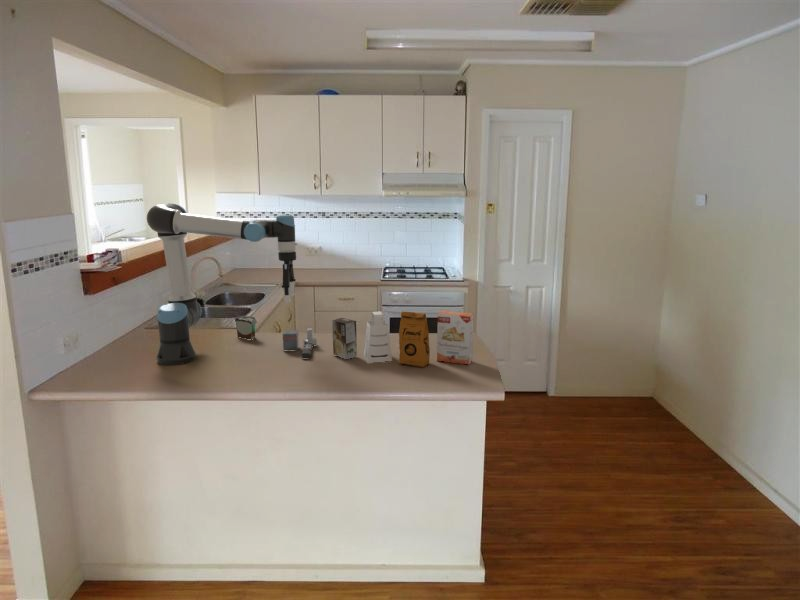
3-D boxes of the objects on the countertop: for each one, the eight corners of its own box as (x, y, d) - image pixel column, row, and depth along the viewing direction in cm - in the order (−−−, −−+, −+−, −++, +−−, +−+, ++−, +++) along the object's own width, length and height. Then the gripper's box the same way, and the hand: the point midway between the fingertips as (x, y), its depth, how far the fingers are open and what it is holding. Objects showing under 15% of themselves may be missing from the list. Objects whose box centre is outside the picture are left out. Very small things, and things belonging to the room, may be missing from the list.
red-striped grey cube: (297, 351, 248) (296, 333, 246) (283, 351, 247) (282, 334, 245) (298, 347, 254) (298, 330, 252) (285, 347, 253) (284, 330, 252)
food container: (263, 338, 268) (262, 318, 266) (253, 341, 263) (252, 320, 261) (245, 334, 275) (244, 314, 273) (235, 337, 270) (234, 317, 268)
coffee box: (357, 357, 239) (357, 320, 236) (346, 360, 235) (345, 323, 231) (343, 352, 246) (342, 317, 242) (332, 356, 241) (331, 319, 238)
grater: (367, 363, 231) (366, 316, 227) (363, 355, 241) (363, 310, 237) (392, 361, 233) (392, 315, 229) (387, 354, 243) (387, 309, 239)
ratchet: (313, 359, 237) (312, 340, 235) (298, 359, 237) (298, 341, 235) (317, 343, 259) (316, 327, 257) (304, 344, 258) (303, 327, 257)
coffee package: (423, 369, 223) (423, 316, 219) (395, 365, 229) (395, 313, 224) (433, 362, 232) (433, 311, 227) (406, 358, 237) (406, 308, 233)
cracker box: (436, 361, 233) (437, 313, 229) (440, 357, 238) (441, 310, 234) (469, 365, 228) (470, 316, 224) (472, 361, 233) (474, 312, 229)
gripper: (292, 254, 229) (294, 305, 234) (299, 247, 254) (301, 293, 258) (273, 254, 229) (276, 305, 233) (282, 247, 253) (284, 293, 257)
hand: (289, 299), depth 246 cm, fingers open, 13 cm apart
